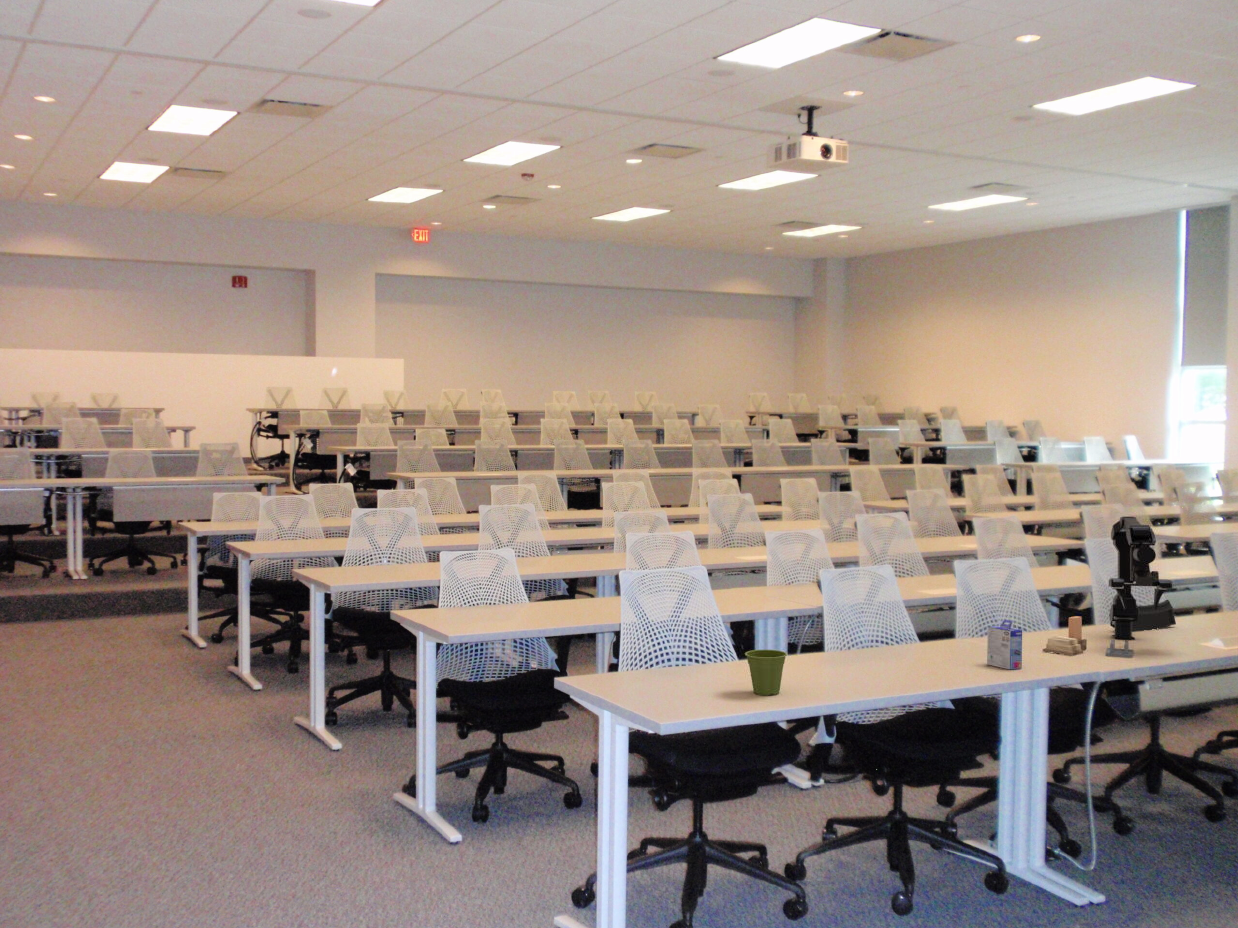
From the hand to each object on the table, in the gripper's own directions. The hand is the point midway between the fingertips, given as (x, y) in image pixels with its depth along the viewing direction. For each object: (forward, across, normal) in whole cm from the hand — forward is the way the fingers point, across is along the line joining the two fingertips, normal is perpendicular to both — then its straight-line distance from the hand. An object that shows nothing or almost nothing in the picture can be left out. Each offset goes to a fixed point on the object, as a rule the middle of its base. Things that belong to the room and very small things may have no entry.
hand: (1140, 609), depth 379 cm
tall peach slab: (+14, -20, +2) cm, 25 cm away
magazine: (+12, +11, +50) cm, 52 cm away
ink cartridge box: (+17, -46, -34) cm, 60 cm away
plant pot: (+20, -115, -87) cm, 146 cm away
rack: (+14, -23, -2) cm, 27 cm away
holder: (+15, -7, -4) cm, 17 cm away
